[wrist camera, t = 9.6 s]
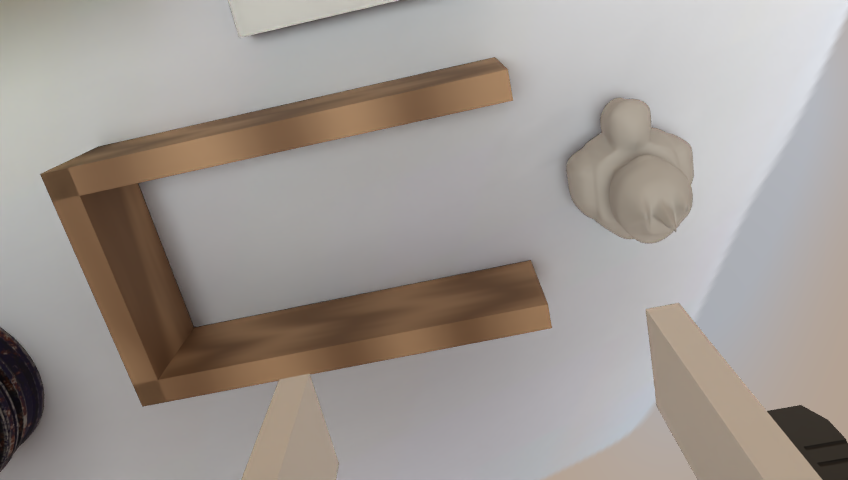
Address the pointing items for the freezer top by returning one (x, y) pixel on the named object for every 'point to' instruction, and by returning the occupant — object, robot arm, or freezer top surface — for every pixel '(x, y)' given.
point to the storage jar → (17, 396)
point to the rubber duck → (632, 175)
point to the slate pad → (289, 12)
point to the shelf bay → (291, 328)
